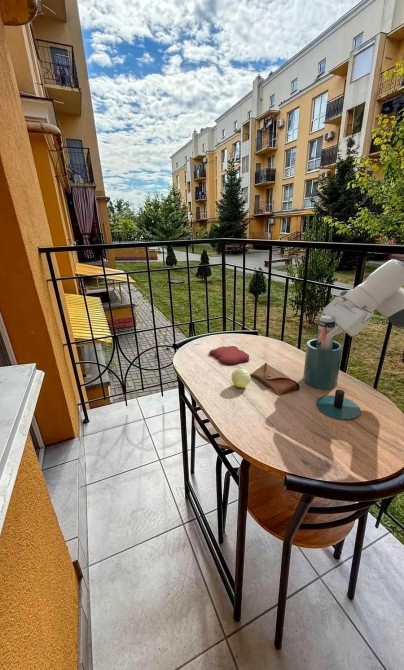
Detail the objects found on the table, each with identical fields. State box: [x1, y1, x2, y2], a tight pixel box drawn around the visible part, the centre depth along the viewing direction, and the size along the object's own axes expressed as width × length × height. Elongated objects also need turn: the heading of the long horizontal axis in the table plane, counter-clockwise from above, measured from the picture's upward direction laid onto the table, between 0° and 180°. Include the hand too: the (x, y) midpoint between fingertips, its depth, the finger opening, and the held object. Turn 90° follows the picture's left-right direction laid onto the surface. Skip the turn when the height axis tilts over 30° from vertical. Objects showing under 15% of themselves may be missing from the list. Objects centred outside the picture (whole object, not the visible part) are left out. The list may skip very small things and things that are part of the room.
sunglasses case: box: [249, 362, 300, 397], centre depth 99 cm, size 18×7×7 cm
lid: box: [315, 389, 362, 421], centre depth 82 cm, size 12×12×6 cm
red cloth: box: [208, 345, 250, 366], centre depth 121 cm, size 18×14×2 cm
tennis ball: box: [231, 368, 252, 388], centre depth 97 cm, size 6×7×7 cm
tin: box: [302, 338, 343, 391], centre depth 96 cm, size 11×11×14 cm
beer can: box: [316, 314, 336, 350], centre depth 92 cm, size 5×5×12 cm
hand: (323, 333), depth 92 cm, fingers closed on beer can, 5 cm apart
